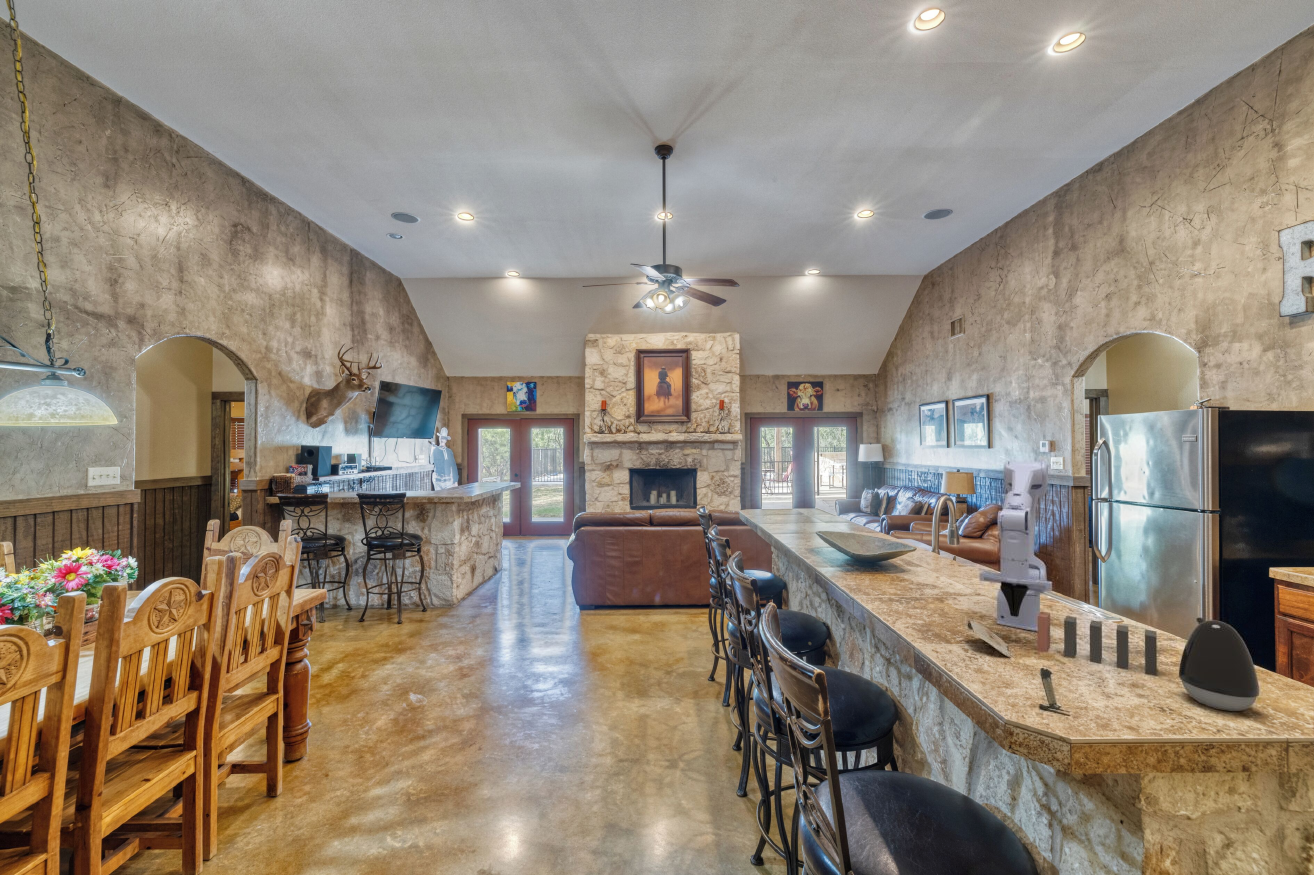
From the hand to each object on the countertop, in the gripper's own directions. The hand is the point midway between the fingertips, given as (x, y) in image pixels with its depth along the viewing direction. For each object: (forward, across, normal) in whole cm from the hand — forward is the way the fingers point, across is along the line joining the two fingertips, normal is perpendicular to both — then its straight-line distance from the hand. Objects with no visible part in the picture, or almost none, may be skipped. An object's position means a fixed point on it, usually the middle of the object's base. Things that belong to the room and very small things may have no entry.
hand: (1014, 615), depth 130 cm
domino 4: (+6, +24, 0) cm, 25 cm away
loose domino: (+6, +6, 0) cm, 9 cm away
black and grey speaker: (+7, +33, -12) cm, 36 cm away
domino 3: (+6, +20, 0) cm, 21 cm away
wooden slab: (+7, -4, -9) cm, 12 cm away
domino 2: (+6, +15, 0) cm, 16 cm away
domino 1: (+6, +11, 0) cm, 12 cm away
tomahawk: (+7, +11, -27) cm, 30 cm away
